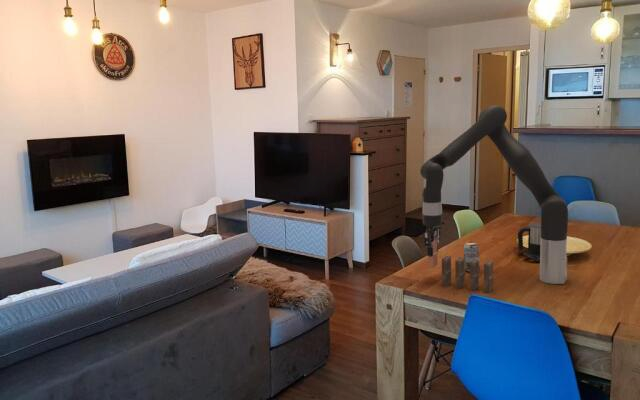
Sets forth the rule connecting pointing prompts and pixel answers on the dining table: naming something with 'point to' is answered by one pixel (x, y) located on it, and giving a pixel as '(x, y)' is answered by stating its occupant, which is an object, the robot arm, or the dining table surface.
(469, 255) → the beverage can
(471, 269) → the tile
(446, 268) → the tile
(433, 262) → the end tile
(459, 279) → the tile
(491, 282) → the tile
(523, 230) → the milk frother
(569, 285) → the dining table surface
